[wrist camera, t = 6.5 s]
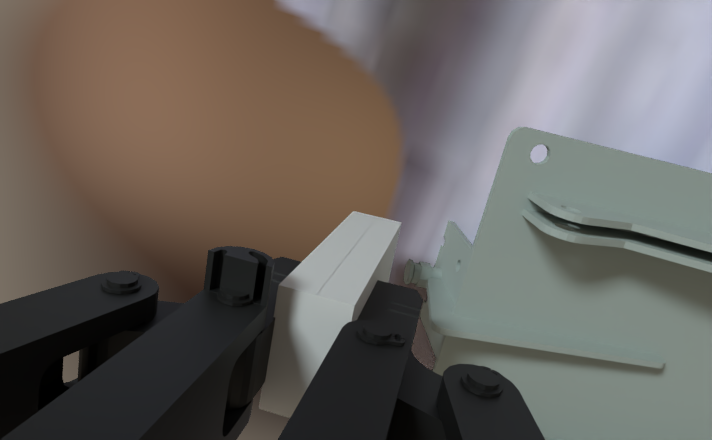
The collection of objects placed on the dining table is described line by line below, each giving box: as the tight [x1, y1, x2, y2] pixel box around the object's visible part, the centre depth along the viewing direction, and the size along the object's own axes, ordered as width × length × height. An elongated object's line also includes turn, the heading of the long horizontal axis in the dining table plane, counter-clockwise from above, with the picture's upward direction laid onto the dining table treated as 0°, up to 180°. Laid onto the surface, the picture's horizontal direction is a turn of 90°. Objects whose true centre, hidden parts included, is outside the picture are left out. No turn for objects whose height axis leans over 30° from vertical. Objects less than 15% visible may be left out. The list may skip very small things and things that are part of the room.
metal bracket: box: [403, 127, 712, 440], centre depth 17 cm, size 14×6×15 cm
